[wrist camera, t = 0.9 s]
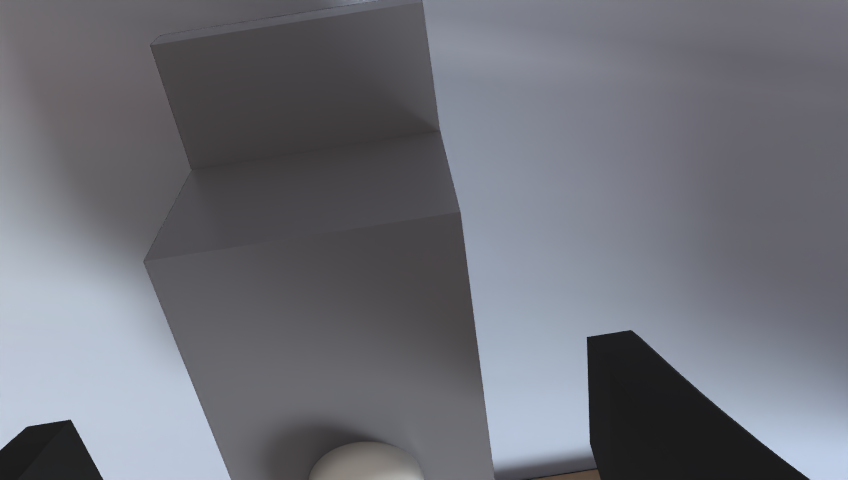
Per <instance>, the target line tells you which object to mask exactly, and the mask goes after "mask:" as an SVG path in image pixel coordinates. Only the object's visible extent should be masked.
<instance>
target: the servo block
mask: <svg viewBox="0 0 848 480" xmlns="http://www.w3.org/2000/svg"><path fill="white" fill-rule="evenodd" d="M150 47H151V50H152V53H153V56H154V59H155V62H156V65H157V68H158V70H159V73H160V76H161V79H162V82H163V85H164V88H165V91H166V94H167V97H168V100H169V103H170V106H171V109H172V112H173V115H174V118H175V121H176V124H177V127H178V130H179V133H180V136H181V139H182V142H183V145H184V148H185V151H186V154H187V157H188V160H189V163H190V166H191V169H192V171H191V173H190V175H189V176H188V178H187V180H186V182H185V184H184V186H183V188H182V190H181V192H180V193H179V195H178V197H177V199H176V201H175V203H174V205H173V207H172V209H171V210H170V212H169V214H168V216H167V218H166V220H165V222H164V224H163V226H162V227H161V229H160V231H159V233H158V235H157V237H156V239H155V241H154V243H153V244H152V246H151V248H150V250H149V252H148V254H147V256H146V258H145V260H144V261H143V262H144V264H145V267H146V269H147V272H148V274H149V277H150V279H151V282H152V284H153V287H154V289H155V292H156V294H157V297H158V299H159V302H160V304H161V307H162V309H163V312H164V314H165V317H166V319H167V322H168V324H169V327H170V329H171V331H172V334H173V336H174V339H175V341H176V344H177V346H178V349H179V351H180V354H181V356H182V359H183V361H184V364H185V366H186V369H187V371H188V374H189V376H190V379H191V381H192V384H193V386H194V389H195V391H196V394H197V396H198V399H199V401H200V404H201V406H202V408H203V411H204V413H205V416H206V418H207V421H208V423H209V426H210V428H211V431H212V433H213V436H214V438H215V441H216V443H217V446H218V448H219V451H220V453H221V456H222V458H223V461H224V463H225V466H226V468H227V471H228V473H229V476H230V478H231V480H495V478H494V470H493V462H492V454H491V447H490V439H489V431H488V423H487V416H486V408H485V400H484V392H483V384H482V377H481V369H480V361H479V353H478V345H477V338H476V330H475V322H474V314H473V307H472V299H471V291H470V283H469V275H468V268H467V260H466V252H465V244H464V236H463V229H462V221H461V213H460V208H459V204H458V201H457V197H456V193H455V189H454V185H453V181H452V177H451V173H450V169H449V165H448V161H447V157H446V153H445V149H444V145H443V141H442V137H441V133H440V127H439V120H438V113H437V105H436V98H435V91H434V83H433V76H432V69H431V61H430V54H429V47H428V39H427V32H426V25H425V17H424V10H423V3H422V0H378V1H372V2H366V3H360V4H353V5H347V6H341V7H335V8H328V9H322V10H316V11H310V12H303V13H297V14H291V15H285V16H278V17H272V18H266V19H260V20H253V21H247V22H241V23H234V24H228V25H222V26H216V27H209V28H203V29H197V30H191V31H184V32H178V33H172V34H166V35H160V36H159V37H158V38H157V39H156V40H155V41H154V42H153V43H152V44H151V45H150Z"/></svg>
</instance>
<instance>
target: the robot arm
mask: <svg viewBox="0 0 848 480" xmlns="http://www.w3.org/2000/svg"><path fill="white" fill-rule="evenodd" d="M587 355H588V391H589V428H590V445H591V448H592V452H593V455H594V458H595V462H596V465H597V469H598V472H599V475H600V479H601V480H810V479H809V478H807V477H806V476H805V475H803V474H802V473H800V472H799V471H798V470H796V469H795V468H794V467H792V466H791V465H790V464H788V463H787V462H786V461H784V460H783V459H782V458H781V457H779V456H778V455H777V454H775V453H774V452H773V451H772V450H770V449H769V448H768V447H766V446H765V445H764V444H763V443H761V442H760V441H759V440H758V439H756V438H755V437H754V436H753V435H752V434H750V433H749V432H748V431H747V430H745V429H744V428H743V427H742V426H741V425H739V424H738V423H737V422H736V421H734V420H733V419H732V418H731V417H730V416H728V415H727V414H726V413H725V412H723V411H722V410H721V409H720V408H719V407H718V406H716V405H715V404H714V403H713V402H712V401H710V400H709V399H708V398H707V397H706V396H705V395H703V394H702V393H701V392H700V391H699V390H698V389H697V388H696V387H694V386H693V385H692V384H691V383H690V382H689V381H688V380H686V379H685V378H684V377H683V376H682V375H681V374H680V373H679V372H678V371H676V370H675V369H674V368H673V367H672V366H671V365H670V364H669V363H668V362H666V361H665V360H664V359H663V358H662V357H661V356H660V355H659V354H658V353H657V352H656V351H654V350H653V349H652V348H651V347H650V346H649V345H648V344H647V343H646V342H645V341H644V340H643V339H641V338H640V337H639V336H638V335H637V334H635V333H634V332H633V331H631V330H629V331H623V332H616V333H610V334H604V335H598V336H591V337H587ZM0 480H103V478H102V477H101V475H100V473H99V471H98V469H97V467H96V465H95V464H94V462H93V460H92V458H91V456H90V454H89V453H88V451H87V449H86V447H85V445H84V443H83V441H82V440H81V438H80V436H79V434H78V432H77V430H76V428H75V427H74V425H73V423H72V421H71V420H66V421H59V422H53V423H47V424H41V425H34V426H28V427H26V428H25V429H24V430H23V431H22V432H21V433H19V434H18V435H17V436H16V437H15V438H14V439H12V440H11V441H10V442H9V443H8V444H7V445H6V446H5V447H3V448H2V449H1V450H0Z"/></svg>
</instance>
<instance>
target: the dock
mask: <svg viewBox="0 0 848 480" xmlns="http://www.w3.org/2000/svg"><path fill="white" fill-rule="evenodd" d="M531 480H601V479H600V475H599V472H598V469H595V470H589V471H582V472H576V473H570V474H563V475H557V476H550V477H544V478H537V479H531Z"/></svg>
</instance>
